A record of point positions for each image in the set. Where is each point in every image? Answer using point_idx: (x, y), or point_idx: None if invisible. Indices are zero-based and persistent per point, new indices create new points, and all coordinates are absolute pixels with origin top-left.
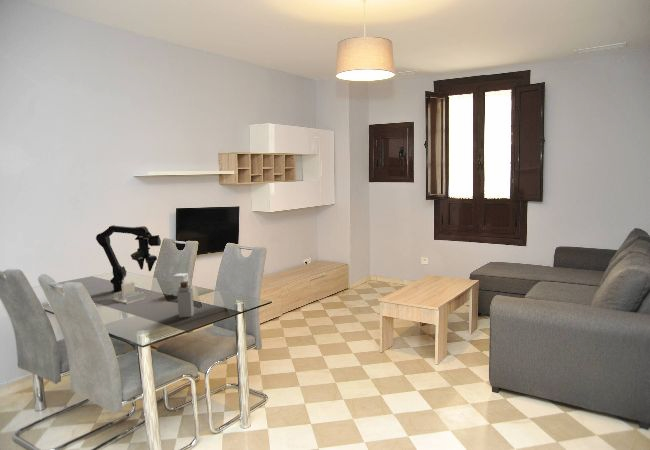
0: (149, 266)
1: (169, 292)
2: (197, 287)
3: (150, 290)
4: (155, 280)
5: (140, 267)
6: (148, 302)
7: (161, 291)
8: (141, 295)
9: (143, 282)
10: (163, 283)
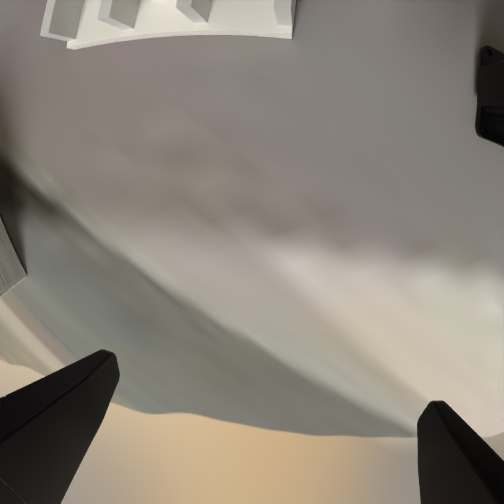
0: (5, 409)
1: (66, 257)
2: None
3: (250, 238)
4: None
5: (452, 431)
6: (13, 35)
7: (132, 254)
8: (58, 15)
9: (483, 371)
10: (321, 411)
